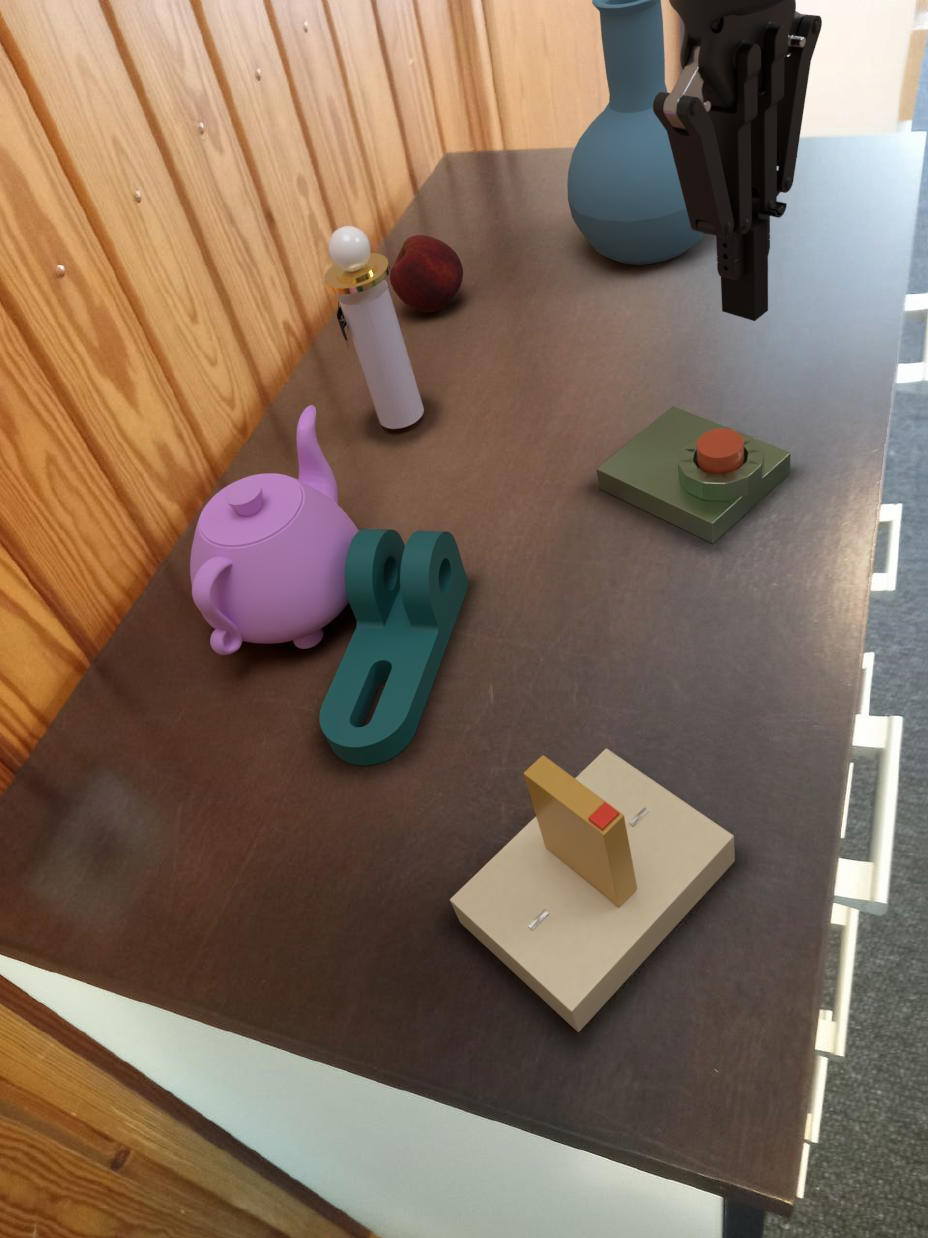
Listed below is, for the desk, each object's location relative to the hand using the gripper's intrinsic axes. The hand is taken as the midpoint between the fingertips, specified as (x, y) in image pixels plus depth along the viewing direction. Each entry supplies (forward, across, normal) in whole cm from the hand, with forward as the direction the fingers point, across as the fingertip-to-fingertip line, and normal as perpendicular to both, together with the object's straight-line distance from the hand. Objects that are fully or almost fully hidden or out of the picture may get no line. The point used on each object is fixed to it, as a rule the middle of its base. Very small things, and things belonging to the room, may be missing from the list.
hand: (744, 310), depth 71 cm
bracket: (+18, -30, +10) cm, 36 cm away
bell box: (+17, -1, +5) cm, 18 cm away
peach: (+17, +8, +47) cm, 51 cm away
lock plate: (+18, -34, -14) cm, 40 cm away
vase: (+17, +29, +34) cm, 48 cm away
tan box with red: (+14, -34, -14) cm, 39 cm away
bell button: (+14, -1, +2) cm, 14 cm away
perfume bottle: (+17, -8, +34) cm, 39 cm away
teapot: (+17, -30, +23) cm, 41 cm away
